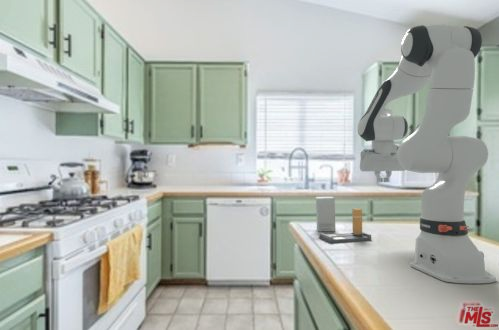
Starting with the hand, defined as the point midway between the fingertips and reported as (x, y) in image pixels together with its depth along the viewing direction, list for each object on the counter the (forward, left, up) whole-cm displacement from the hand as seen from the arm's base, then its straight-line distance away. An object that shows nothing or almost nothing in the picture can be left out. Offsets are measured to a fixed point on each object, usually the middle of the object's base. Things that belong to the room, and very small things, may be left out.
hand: (383, 182), depth 146 cm
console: (-3, +17, -23) cm, 29 cm away
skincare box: (+16, +21, -23) cm, 35 cm away
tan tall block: (-2, +11, -22) cm, 24 cm away
